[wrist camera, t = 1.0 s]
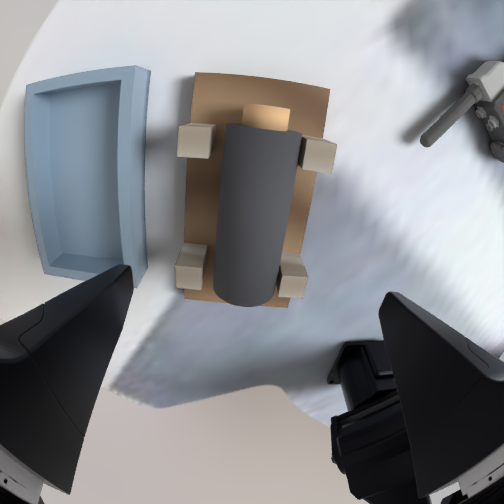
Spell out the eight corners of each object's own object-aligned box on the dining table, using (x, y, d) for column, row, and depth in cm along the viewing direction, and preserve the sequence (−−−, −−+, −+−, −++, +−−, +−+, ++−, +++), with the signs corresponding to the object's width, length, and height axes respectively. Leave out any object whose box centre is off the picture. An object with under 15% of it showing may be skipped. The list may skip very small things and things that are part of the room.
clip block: (285, 298, 23) (292, 334, 19) (187, 289, 23) (177, 325, 19) (324, 90, 16) (346, 86, 12) (198, 74, 15) (185, 65, 11)
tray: (147, 267, 22) (137, 288, 19) (60, 256, 21) (44, 273, 18) (150, 70, 15) (135, 65, 12) (48, 84, 14) (26, 85, 12)
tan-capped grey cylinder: (267, 271, 21) (280, 306, 17) (211, 270, 20) (214, 306, 17) (292, 110, 16) (317, 113, 12) (225, 102, 15) (232, 101, 11)
